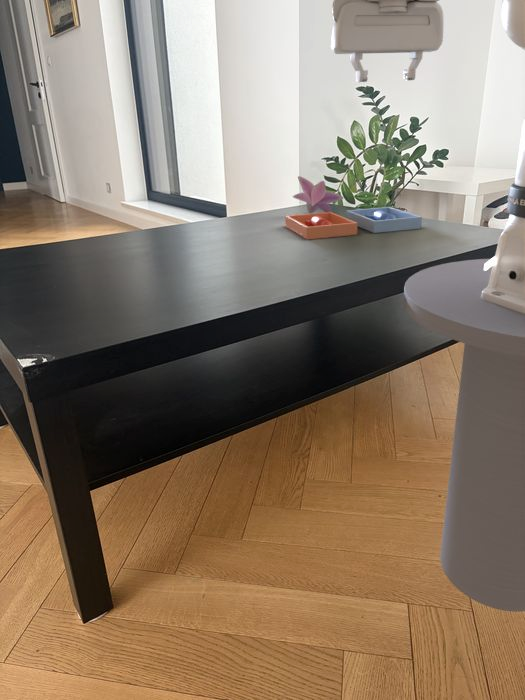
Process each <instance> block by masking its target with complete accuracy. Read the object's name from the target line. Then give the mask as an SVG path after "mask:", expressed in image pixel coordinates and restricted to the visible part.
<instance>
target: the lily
mask: <svg viewBox="0 0 525 700" xmlns="http://www.w3.org/2000/svg"><path fill="white" fill-rule="evenodd" d="M297 179H298V182H299V184H300V187H301V189H302V191H303V192H299V193H296V194H294V195H292V198H294V199H296V200H298V201H302V202H304V203H305V204H306V210H307V214H313V213H316V212H317V211H318V210H321V211H322V212H332V213H333V211H332V208H331V206H330V204H333V203H335V202H339V201H341V200H344V196H342V195H341V194H339V193H336V192H333V191H331V190H330V191H329V190H327V188H326V187H327V186H326V182H325V181H324V180H321V181H319V182H318V183H316V184H314V183H312V182H311V181H310V180H308V179H307V178H305V177H302V176H300V175H299V176H297Z"/></svg>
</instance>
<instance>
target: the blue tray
mask: <svg viewBox="0 0 525 700" xmlns="http://www.w3.org/2000/svg"><path fill="white" fill-rule="evenodd" d="M376 211H382V212H385V213H388V214H392V215H394V216H395V217H396V219H388V220H377V221H375V220H373V219H370V218H367V217H366V214H370V213H375V212H376ZM345 218H347V219H349V220H352V221H354V222H357V227H359V228H361V229H364V230H366V231H367V232H371V233H373V234H378V233H388V232H397V231H399V232H400V231H408V230H409V231H410V230H419V229H422V225H423V217H422V216H421V215H418V214H414V213H411V212H408V211H405V210H402V209H397V208H395V207H392V206H383V207H382V206H381V207H371V208H361V209H347V210H345Z"/></svg>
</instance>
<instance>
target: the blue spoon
mask: <svg viewBox="0 0 525 700" xmlns="http://www.w3.org/2000/svg"><path fill="white" fill-rule="evenodd" d="M366 217H367V218H370V219H373V220H375V221H377V220H388V219H396V217H395V216H394V215H392V214H388V213H385V212H382V211H376V212H375V213H370V214H366Z"/></svg>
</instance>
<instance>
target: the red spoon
mask: <svg viewBox="0 0 525 700" xmlns="http://www.w3.org/2000/svg"><path fill="white" fill-rule="evenodd" d="M305 225H306V226H308V227H312V226H322V225H332V224H331V222H330V221H328V220H325V219H323V218H321V217H319V216H315V217H313V218H312V219H306V220H305Z"/></svg>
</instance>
